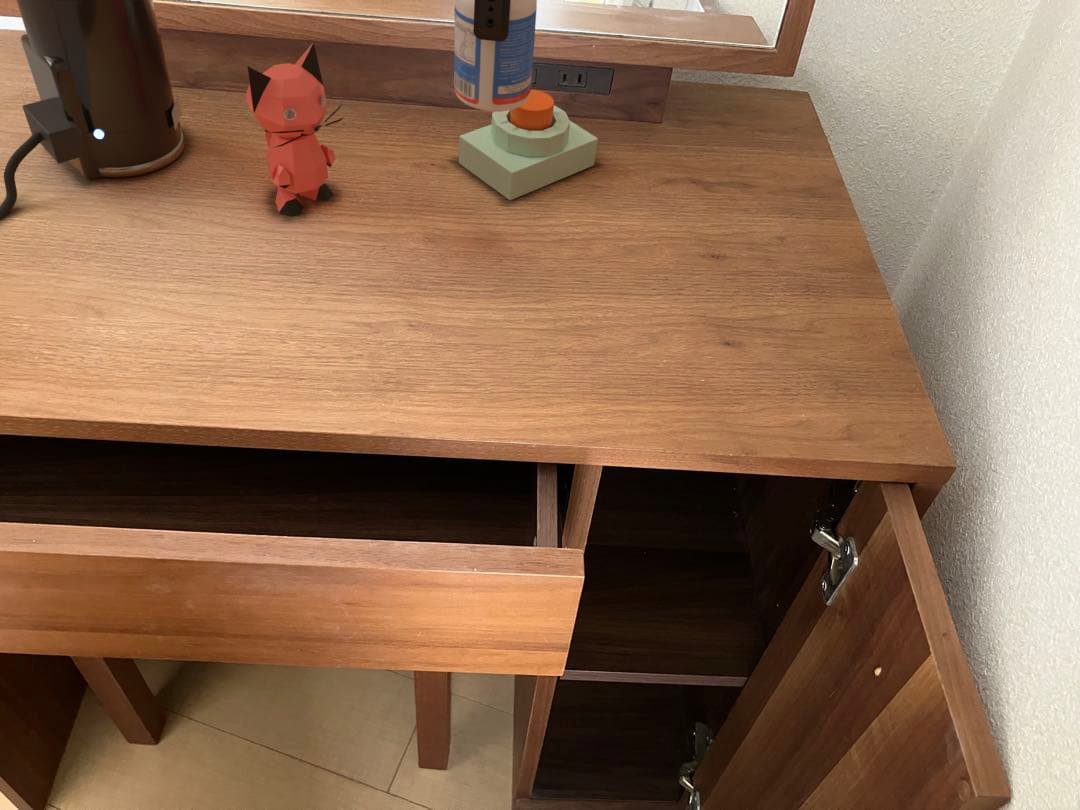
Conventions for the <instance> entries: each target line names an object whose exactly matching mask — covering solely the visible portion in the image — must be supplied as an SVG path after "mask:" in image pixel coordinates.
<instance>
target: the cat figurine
mask: <svg viewBox="0 0 1080 810" xmlns="http://www.w3.org/2000/svg"><path fill="white" fill-rule="evenodd" d="M318 59H319V58H318V55H317V50H316V46H315V42H312V43H311V45H310V46H309V47H308V48H307V49H306V50H305V52H304V53H303V54H302V55H301V56H300V58H298V60H297V61H296V62H295V63H294V64H293V63H289V62H285V63H278V64H273V65H272V66H271V67H270V68H268V69H267V70H265V71H263V72H260V71H258V70H257V69H255V68H252V67H250V66H247V74H248V81H249V83H248V87H247V90H246V93H245V95H244V101H245V102H246V104H247V105H248V107H249V109H250V111H251V112H252V113H253V115H254V116H255V118H256V120H257V121H258V122H259V124H260V126H261V127H262V129H264V132H265V133H264V134H265V140H266V143H267V147H268V149H267V153H266V162H267V168H268V176H269V178H270V180H271V181H272V183H273V184H274V185H275V186H276V187H277V192H276V196H275V201H274V203H275V206H276V208H277V211H278V213H280V214H282V215H285V216H288V217H294V216H299V215H302V212H303V210H304V207H305V206H304V204H303V203H302V202H301V201H300V199H299V198H298V196H297V195H296V194H298V195H299V196H302V197H305V198H307V199H310V200H313V201H315V202H318V201H319V202H320V201H330V200H331V199H332V198H333V197H334V196H335V194H334V193H333V192H332V190H331V189H330V188H329V186H328V184H327V183H326V181H327V180H328V179H329V176H328V174H329V173H328V167H329V168H332V166H333V164H334V163H335V161H336V155H335V151H334V150H333V149H331V148H329V147H328V146H326V145H324V144H320V142H319V141H318V139H317V136H316V134H315V133H317V132H319V131H320V129H321V128H322V126H323V125H322V122H323V120H324V119H325V116H326V114H327V111H328V103H327V98H326V92H325V86H324V82H323V77H322V73H321V69H320V64H319V60H318ZM343 103H344V101H342V102H341V103H340V105H339V106H338V107H337V108H336V109H335V110H334V111H332V113H331V114H330V115H329V116H328V117H327V118H326V119H325V120H324V123H325V125H324V126H325V127H327V126H330V125H333V124H336V123H339V122H341V121H342V120H343V119H344V118H345V115H344V116H343V117H341V118H339V119H337V120H334V121H331V122H328V123H327V121H329V119H330V118H332V117H333V116H334V114H336V113H337V112H338V111H339V110H340V109H341V108H342V105H343Z"/></svg>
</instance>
